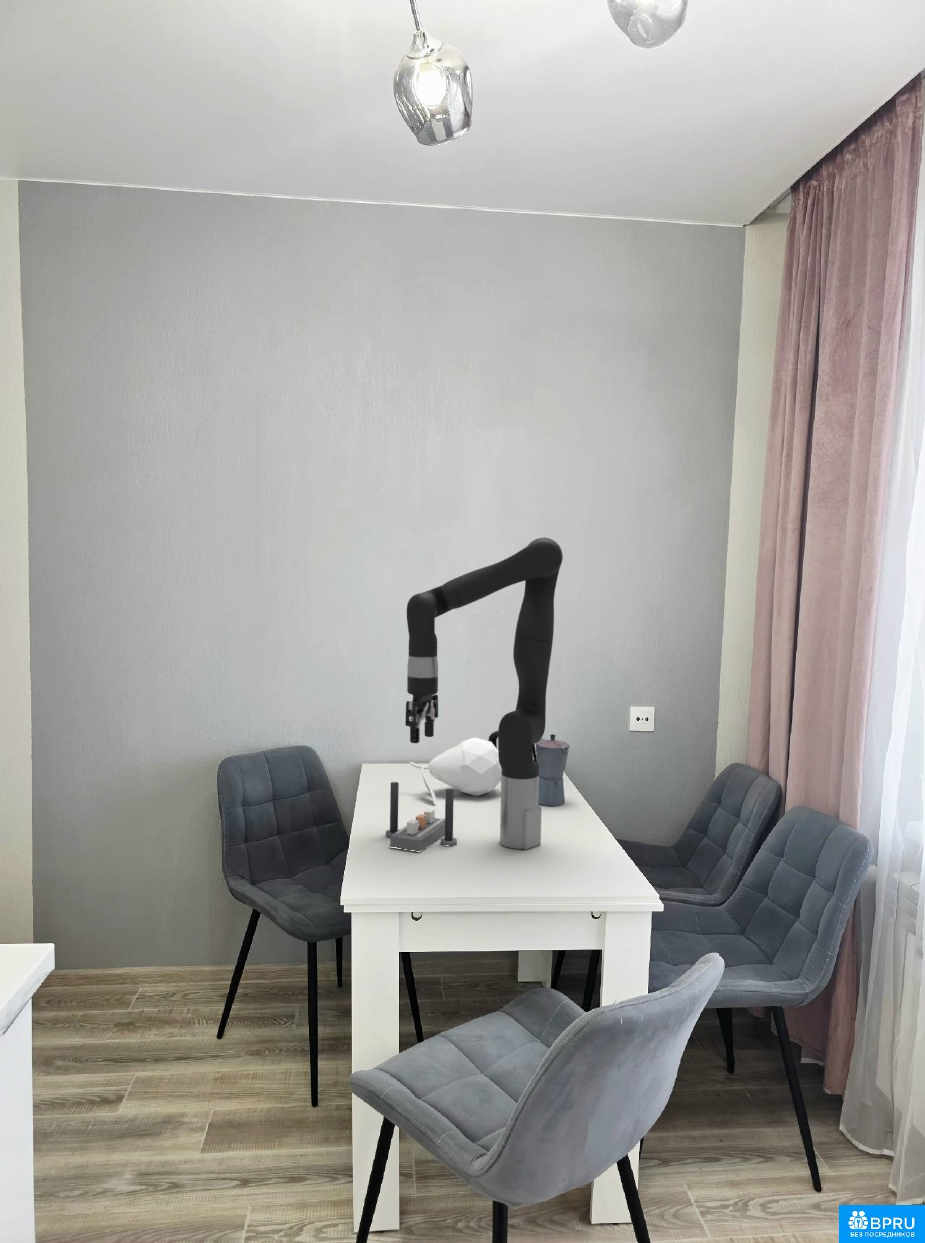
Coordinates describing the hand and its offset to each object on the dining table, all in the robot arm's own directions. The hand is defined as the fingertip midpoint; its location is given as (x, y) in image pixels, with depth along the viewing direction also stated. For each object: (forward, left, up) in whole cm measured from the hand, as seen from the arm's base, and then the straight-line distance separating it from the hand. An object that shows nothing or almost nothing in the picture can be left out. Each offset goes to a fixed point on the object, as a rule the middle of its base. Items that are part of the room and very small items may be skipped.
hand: (422, 739), depth 222 cm
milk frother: (+26, -65, -25) cm, 74 cm away
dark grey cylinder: (-7, -3, -25) cm, 26 cm away
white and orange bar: (0, 0, -22) cm, 22 cm away
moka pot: (-2, -50, -25) cm, 56 cm away
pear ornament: (+21, -37, -25) cm, 49 cm away
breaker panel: (0, 0, -25) cm, 25 cm away
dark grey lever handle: (+7, +3, -25) cm, 26 cm away
